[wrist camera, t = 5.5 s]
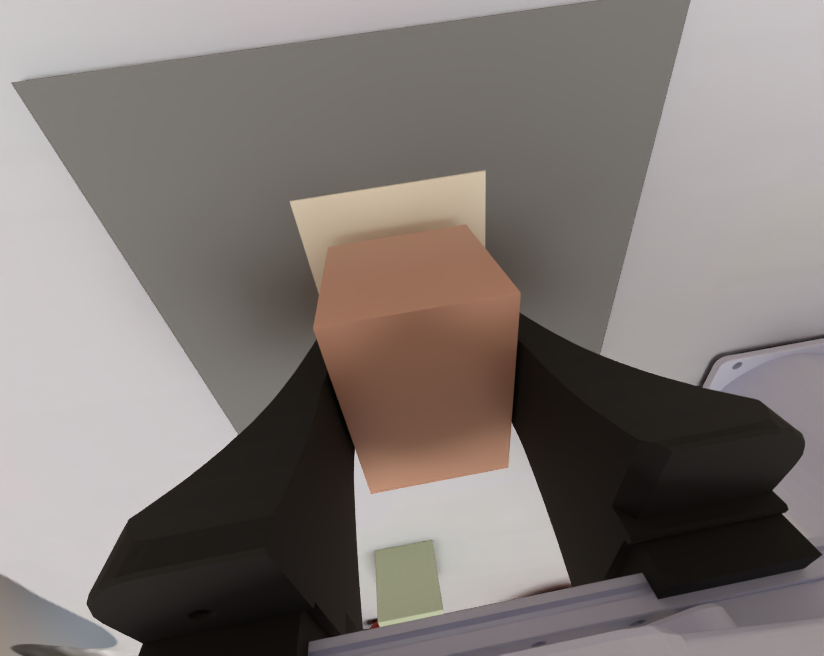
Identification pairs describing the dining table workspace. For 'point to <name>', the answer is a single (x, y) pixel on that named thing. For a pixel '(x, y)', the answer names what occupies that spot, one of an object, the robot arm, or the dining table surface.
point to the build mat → (369, 168)
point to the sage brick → (407, 583)
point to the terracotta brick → (421, 354)
